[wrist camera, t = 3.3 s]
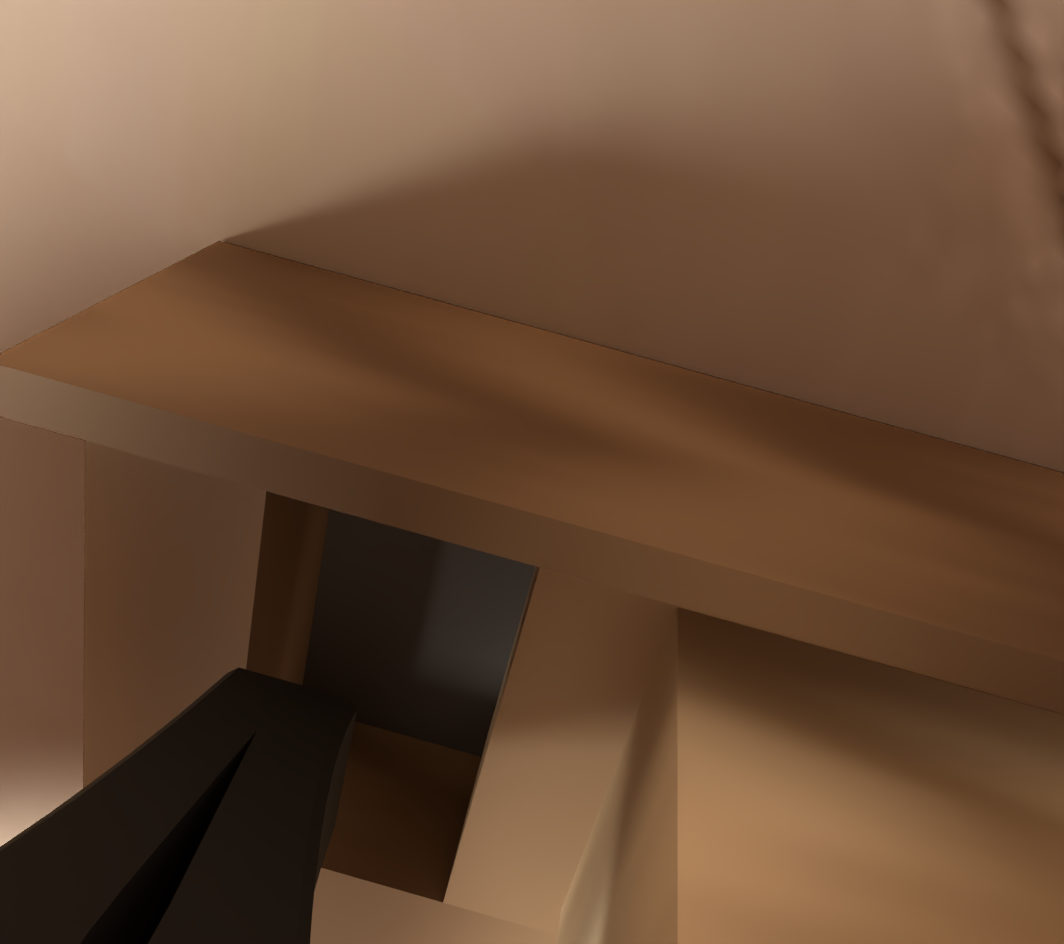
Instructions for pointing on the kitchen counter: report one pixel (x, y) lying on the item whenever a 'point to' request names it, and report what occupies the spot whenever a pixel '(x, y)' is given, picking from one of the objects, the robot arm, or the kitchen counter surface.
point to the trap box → (489, 556)
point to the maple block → (821, 805)
